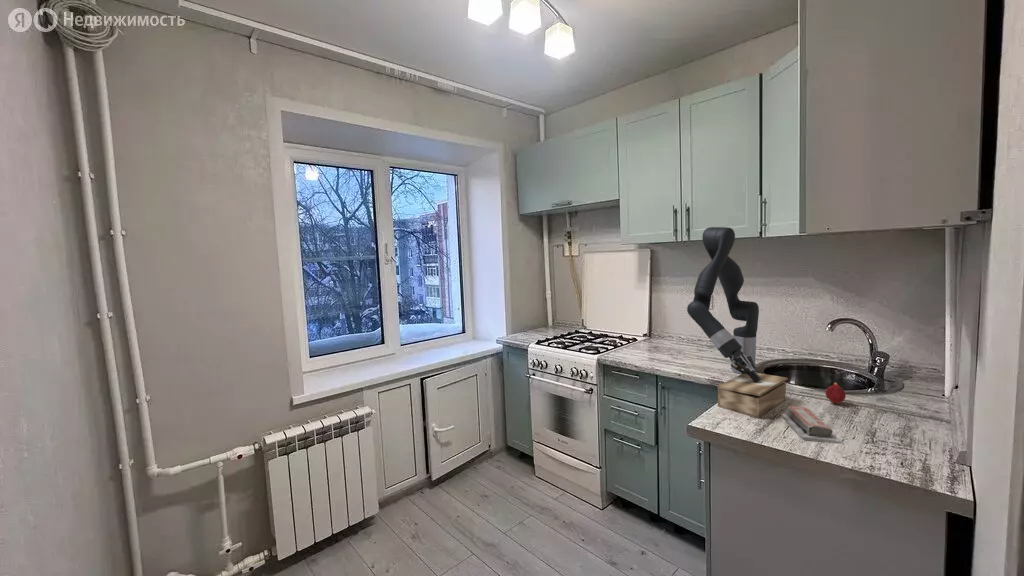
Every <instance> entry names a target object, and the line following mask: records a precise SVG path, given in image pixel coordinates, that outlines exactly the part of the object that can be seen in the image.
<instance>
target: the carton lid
mask: <svg viewBox="0 0 1024 576" xmlns="http://www.w3.org/2000/svg"><path fill="white" fill-rule="evenodd" d="M756 374H757V375H758V376H759V377H760V378H761V380H760V381H758V382H756V383H755V382H754V381H753V380H752V379H751V378H750V377H749V375H746V374H739V375H738V376H735V377H733V378H731V379H728V380H726V381H725V382H722V383H721V384H717V389H718V388H720V389H725V390H730V391H736V392H741V393H746V394H751V395H756V396H761V395H763V394H764V393H766V392H768V391H770V390H771V389H773V388H775V387H776V386H778V385H780V384H782V383H783V382H784V383H786V381H788V380H789V378H788V377H785V376H779V375H771V374H765V373H759V372H756Z"/></svg>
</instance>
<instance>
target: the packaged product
mask: <svg viewBox="0 0 1024 576" xmlns="http://www.w3.org/2000/svg"><path fill="white" fill-rule="evenodd" d="M781 418H782V419H783V420H784V421H785V422H786V424H787V425H788V426H789V427H790V429H792V431H794V433H795V434H796V435H797V436H798V437H799V438H800V439H801V440H802V441H807V442H809V441H810V442H820V443H832V444H840V443H841V441H840V440H839V439H838V437H837V436H835V435H834V434H833V429H832V428H831V427H830V426H828V424H826V423H825V422H824V421H823V420H822V419H821V418H819V417H818V415H816V414H815V413H814V412H813V410H811V408H807V407H806V406H787V411H786V413H784V412H783V413H781Z"/></svg>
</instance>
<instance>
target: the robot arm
mask: <svg viewBox="0 0 1024 576" xmlns="http://www.w3.org/2000/svg"><path fill="white" fill-rule="evenodd" d="M701 238H702V244H703V247H704V248H705V250H706V252H707V254H708V256H709V257H710V260H711V261H710V262H709V263H708V264H707V265H706V266H705V267H704V268H703V269H702V270H701V272H700V273H699V275H698V277H697V280H696V282H695V286H694V291H693V293H694V296H693V299H692V301H691V302H690V303H688V305H687V306H686V307H687V308H686V311H687V314H688V315H689V317H690V318H691V319H692V320H693V321H694V322H695V323H696V324H697V325H698V326H699V327H700V329H702V331H703V333H704V334H705V335H706V336H707V338H709V340H710V341H711V343H712V344H713V346H714V347H715V348H716V349H717V350H718V351H719V353H720V354H721V355H722V356H723V358H725V359H729V360H730V361H731V363H730V369H731V370H732V371H733V372H734V373H737V374H739V375H741V374H746V375H749V377H750V378H751V379H752V380H753V381H754V382H755V383H756V382H758V381H760V380H761V378H760V377H759V376H758V375H757V374H756V373H757V372H756V359H757V358H756V356H757V355H756V354H757V332H758V327H759V315H760V307H759V305H758V303H757V302H756V301H749V300H740V299H739V293H740V291H741V290H742V288H743V285H744V281H745V279H744V275H743V273H742V269H741V267H740V266H739V264H738V263H737V262H736V261H735V260H733V258H731V257H730V256H729V254H730V252H731V250H732V249H733V245H734V244H735V240H736V233H735V230H734V229H733V228H732V227H727V226H717V227H716V226H712V227H711V226H710V227H707V228H705V229H704V231H703V232H702V237H701ZM718 280H719V282H720V284H721V287H722V290H723V292H724V294H725V300H726V303H727V306H728V310H729V314H730V317H731V319H734V320H736V321H740V322H745V325H744V326H739V327H735V328H733V331H732V333H733V334H731V332H730V331H728V330H727V329H726V328H725V327H724V325H723V324H722V323H721V322H720V321H719V320H718V319H717V318H716V317H714V316H713V313H712V312H710V306H711V301H712V296H713V294H714V290H715V287H716V284H717V281H718Z"/></svg>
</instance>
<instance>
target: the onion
mask: <svg viewBox="0 0 1024 576" xmlns="http://www.w3.org/2000/svg"><path fill="white" fill-rule="evenodd" d="M825 397H826V398H827V399H828V400H829V402H831V403H832V404H834V405H837V404H839V403H842V402H844V400H846V397H847V395H846V392H845V390H844V389H843V387H841V386H840V385H839V384H838V383H837V382H833V384H832V385H830V386H828V387H827V388H826V390H825Z"/></svg>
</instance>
